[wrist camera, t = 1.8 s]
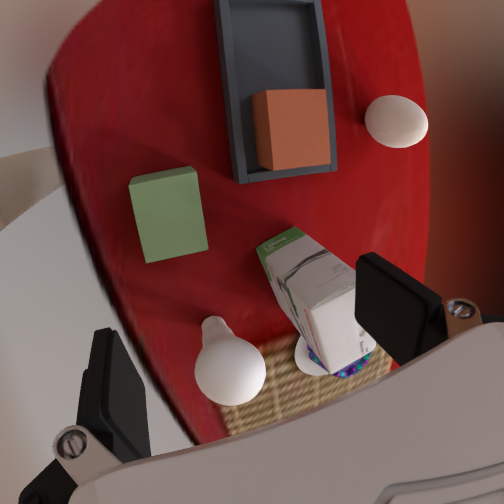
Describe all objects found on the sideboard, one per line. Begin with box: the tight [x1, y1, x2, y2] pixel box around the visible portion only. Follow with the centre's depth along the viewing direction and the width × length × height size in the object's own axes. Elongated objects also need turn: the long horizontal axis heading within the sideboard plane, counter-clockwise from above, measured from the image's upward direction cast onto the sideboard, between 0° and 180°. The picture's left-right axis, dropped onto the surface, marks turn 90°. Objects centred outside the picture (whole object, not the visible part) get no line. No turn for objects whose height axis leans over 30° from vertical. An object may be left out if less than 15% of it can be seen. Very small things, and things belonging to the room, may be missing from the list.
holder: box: [213, 0, 337, 184], centre depth 24 cm, size 10×18×2 cm, turn 6°
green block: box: [129, 166, 209, 263], centre depth 25 cm, size 5×6×4 cm
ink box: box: [256, 227, 376, 374], centre depth 28 cm, size 9×5×12 cm, turn 21°
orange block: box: [250, 89, 331, 171], centre depth 25 cm, size 5×6×4 cm
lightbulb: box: [195, 316, 266, 406], centre depth 28 cm, size 6×6×11 cm
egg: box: [365, 95, 428, 148], centre depth 26 cm, size 5×5×8 cm
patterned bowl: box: [295, 335, 372, 378], centre depth 37 cm, size 12×12×5 cm
